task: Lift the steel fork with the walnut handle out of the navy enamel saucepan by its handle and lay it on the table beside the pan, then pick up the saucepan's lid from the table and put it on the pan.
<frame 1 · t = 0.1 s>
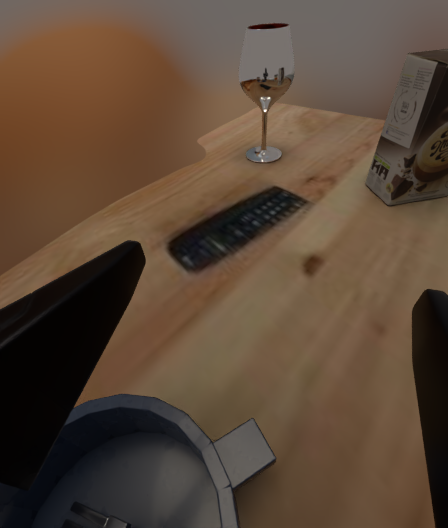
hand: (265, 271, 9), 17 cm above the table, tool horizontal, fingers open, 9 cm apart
wineglass: (263, 156, 52), on the table
coffee box: (404, 191, 41), on the table
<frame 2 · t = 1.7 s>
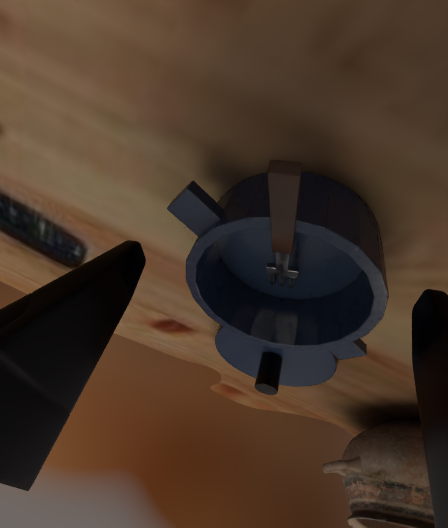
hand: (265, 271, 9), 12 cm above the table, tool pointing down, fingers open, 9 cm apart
lid: (272, 353, 36), point 1 cm above the table
fork: (283, 247, 18), point 4 cm above the table, touching saucepan
cooking pot: (415, 427, 40), on the table
saucepan: (287, 247, 24), on the table
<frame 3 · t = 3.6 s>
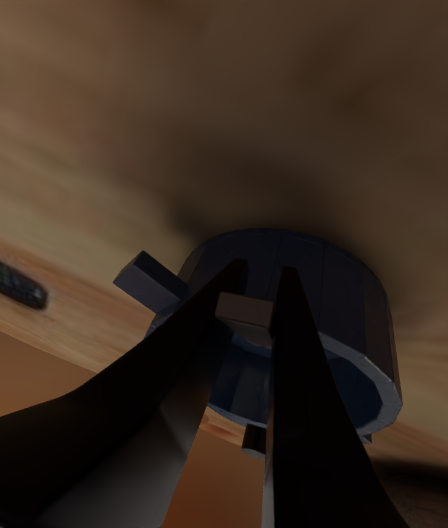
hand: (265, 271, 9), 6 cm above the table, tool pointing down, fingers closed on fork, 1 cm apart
lid: (262, 406, 31), point 1 cm above the table
fork: (264, 333, 14), point 4 cm above the table, touching gripper, saucepan
cooking pot: (424, 482, 36), on the table
saucepan: (274, 308, 20), on the table
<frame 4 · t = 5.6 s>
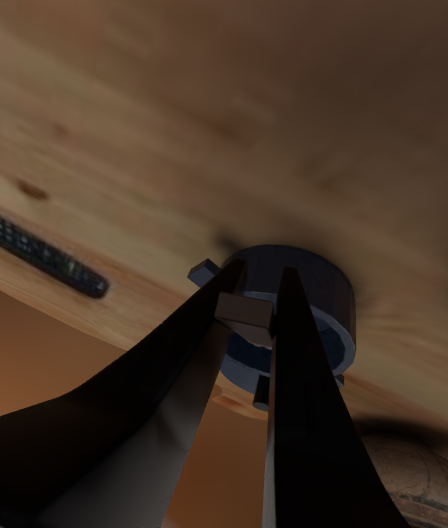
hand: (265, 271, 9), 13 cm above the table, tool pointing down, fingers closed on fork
lid: (268, 374, 41), point 1 cm above the table
fork: (264, 333, 14), point 11 cm above the table, touching gripper
cooking pot: (393, 438, 45), on the table
saucepan: (280, 296, 29), on the table
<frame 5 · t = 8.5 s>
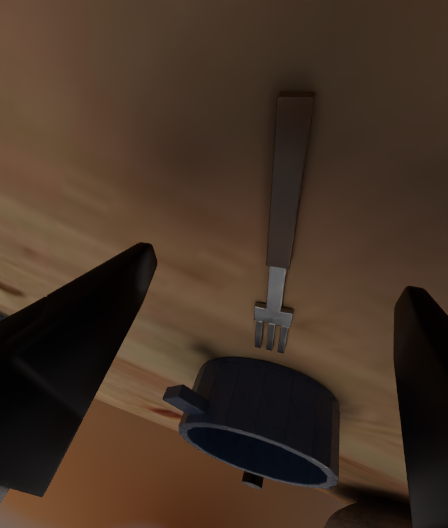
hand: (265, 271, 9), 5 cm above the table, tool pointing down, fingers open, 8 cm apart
fork: (278, 266, 16), on the table, tilted 27°
cooking pot: (389, 503, 44), on the table
saucepan: (264, 394, 28), on the table
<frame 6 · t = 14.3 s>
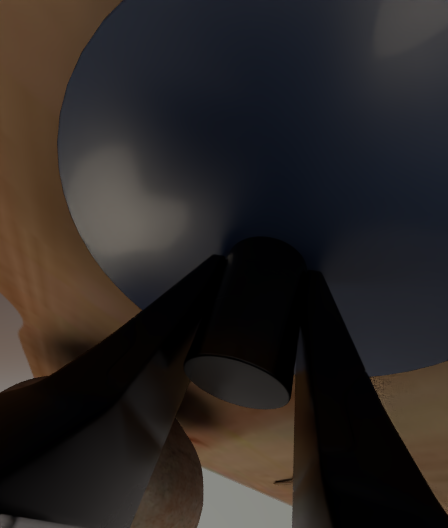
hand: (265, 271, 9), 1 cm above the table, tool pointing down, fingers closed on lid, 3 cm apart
lid: (268, 256, 10), point 1 cm above the table, touching gripper
cooking pot: (131, 386, 28), on the table
when the fingers open (6 cm above the table, at t = 18.6 s): lid stays where it is, resting on saucepan.
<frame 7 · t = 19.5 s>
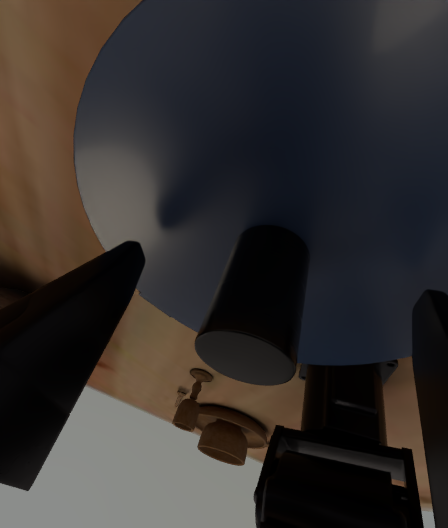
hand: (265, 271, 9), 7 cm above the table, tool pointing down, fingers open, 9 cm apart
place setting: (235, 411, 41), on the table
lid: (273, 245, 10), point 5 cm above the table, touching saucepan
cooking pot: (32, 305, 35), on the table
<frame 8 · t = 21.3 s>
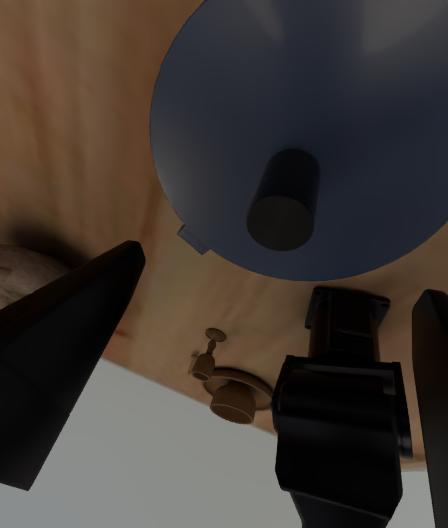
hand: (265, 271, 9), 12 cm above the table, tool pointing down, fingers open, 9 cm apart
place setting: (245, 374, 45), on the table
lid: (293, 170, 14), point 5 cm above the table, touching saucepan
cooking pot: (63, 273, 39), on the table
saucepan: (304, 127, 18), on the table
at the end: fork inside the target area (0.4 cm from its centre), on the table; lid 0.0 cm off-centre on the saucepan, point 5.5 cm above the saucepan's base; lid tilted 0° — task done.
